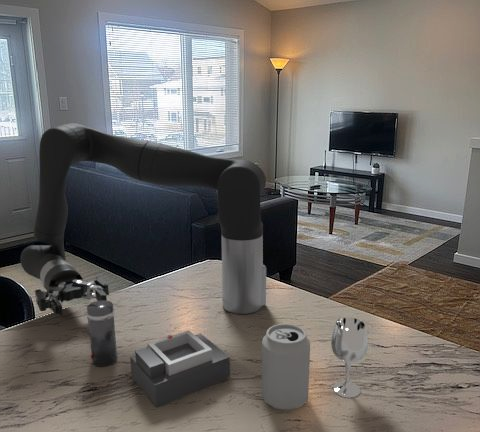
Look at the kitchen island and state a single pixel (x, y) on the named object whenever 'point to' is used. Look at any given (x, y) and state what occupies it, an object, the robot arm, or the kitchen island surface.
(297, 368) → the can
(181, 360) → the tray on grey base
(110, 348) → the thermos
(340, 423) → the kitchen island surface
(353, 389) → the wineglass
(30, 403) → the kitchen island surface
